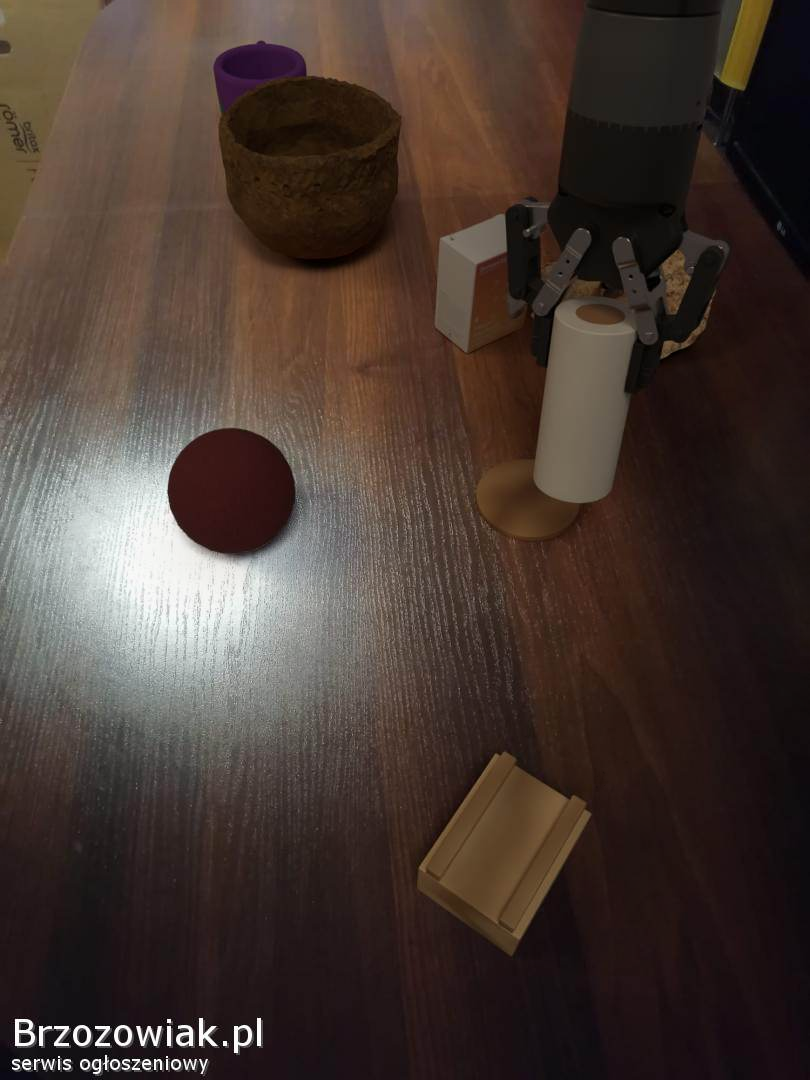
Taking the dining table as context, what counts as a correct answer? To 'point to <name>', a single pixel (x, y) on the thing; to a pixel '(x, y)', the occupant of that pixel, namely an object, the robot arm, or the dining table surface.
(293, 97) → the bowl
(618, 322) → the paper towel roll
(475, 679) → the dining table surface
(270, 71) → the mug
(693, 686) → the dining table surface
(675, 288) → the beige speckled lump
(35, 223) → the dining table surface
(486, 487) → the coaster
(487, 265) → the small box
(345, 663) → the dining table surface
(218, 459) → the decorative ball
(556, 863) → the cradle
